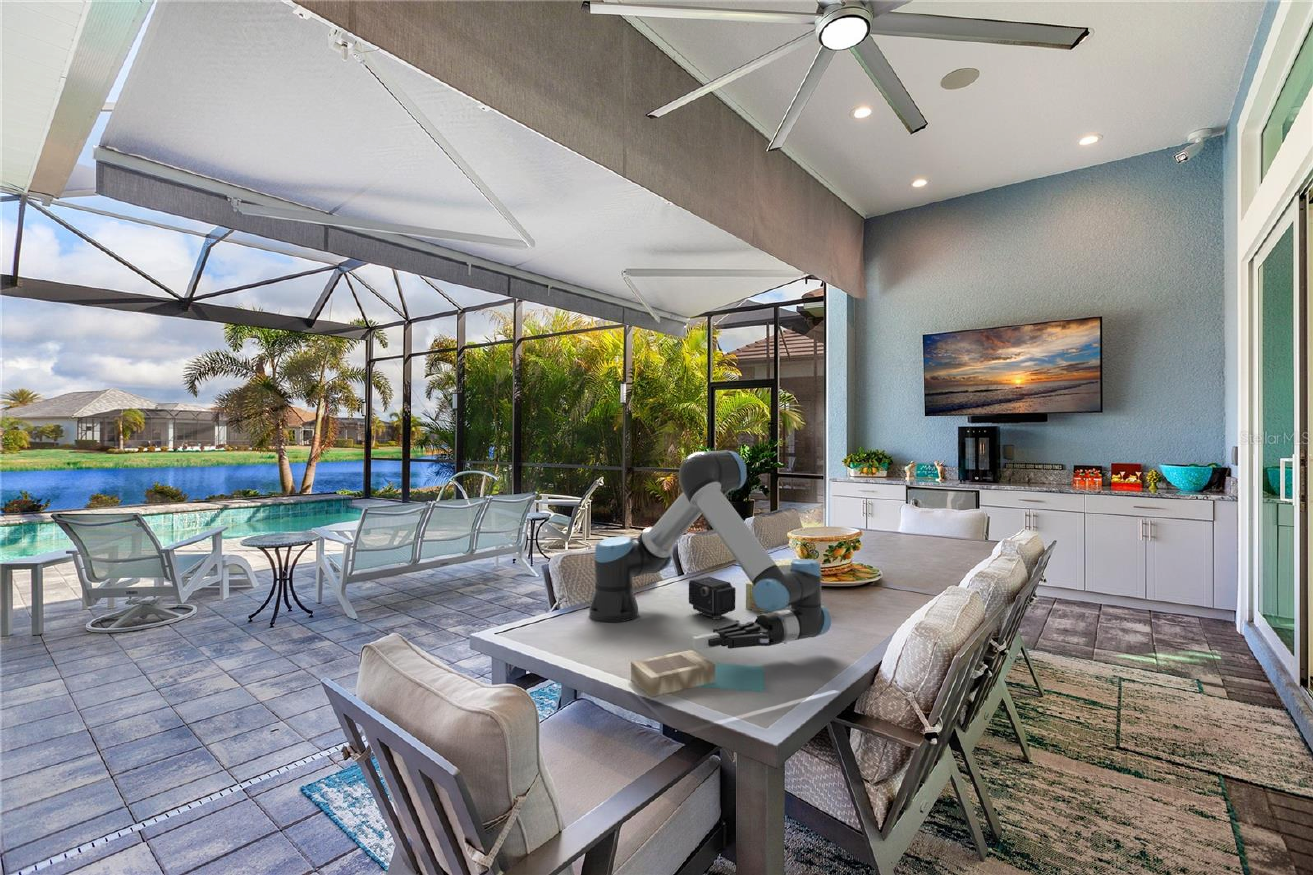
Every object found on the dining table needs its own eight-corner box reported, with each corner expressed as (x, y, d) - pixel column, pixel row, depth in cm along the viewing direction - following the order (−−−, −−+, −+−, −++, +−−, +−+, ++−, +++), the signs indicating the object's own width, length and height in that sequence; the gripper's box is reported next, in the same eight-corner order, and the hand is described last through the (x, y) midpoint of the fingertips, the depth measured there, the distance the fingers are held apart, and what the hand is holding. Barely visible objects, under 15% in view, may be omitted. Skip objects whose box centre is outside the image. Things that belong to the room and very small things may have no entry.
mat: (645, 686, 131) (645, 683, 131) (655, 662, 144) (655, 659, 144) (764, 694, 126) (764, 691, 126) (763, 668, 140) (763, 666, 140)
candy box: (796, 615, 182) (796, 588, 182) (794, 617, 180) (794, 590, 180) (748, 607, 191) (748, 581, 191) (745, 609, 189) (745, 583, 189)
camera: (684, 617, 184) (717, 624, 172) (682, 580, 185) (714, 585, 173) (710, 610, 190) (743, 617, 178) (707, 575, 191) (740, 579, 179)
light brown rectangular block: (715, 682, 131) (651, 696, 124) (691, 666, 140) (631, 679, 133) (715, 664, 131) (651, 677, 124) (691, 649, 140) (631, 661, 133)
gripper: (793, 651, 140) (709, 670, 129) (759, 635, 151) (679, 650, 140) (793, 620, 140) (709, 635, 129) (759, 606, 151) (679, 619, 140)
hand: (694, 643), depth 135 cm, fingers closed
